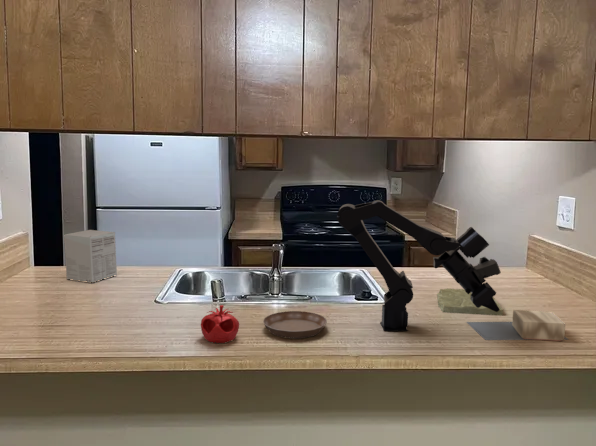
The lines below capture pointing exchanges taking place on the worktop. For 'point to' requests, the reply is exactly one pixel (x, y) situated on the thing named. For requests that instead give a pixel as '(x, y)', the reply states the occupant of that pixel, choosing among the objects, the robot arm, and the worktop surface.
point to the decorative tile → (462, 303)
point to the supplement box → (90, 255)
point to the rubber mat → (497, 331)
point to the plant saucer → (294, 324)
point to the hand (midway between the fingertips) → (498, 310)
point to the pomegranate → (219, 326)
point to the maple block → (538, 325)
